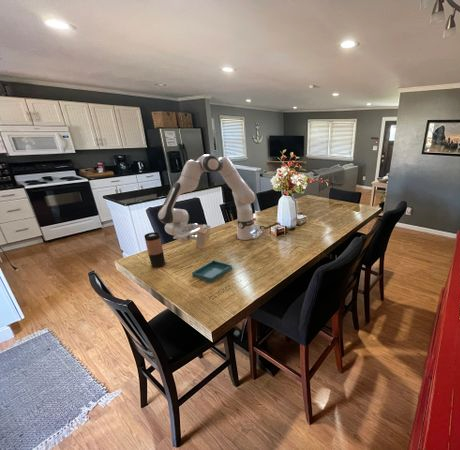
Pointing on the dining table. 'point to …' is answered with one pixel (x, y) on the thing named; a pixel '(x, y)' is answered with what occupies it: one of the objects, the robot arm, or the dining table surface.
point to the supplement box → (202, 236)
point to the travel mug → (155, 249)
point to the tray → (212, 271)
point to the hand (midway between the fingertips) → (202, 235)
